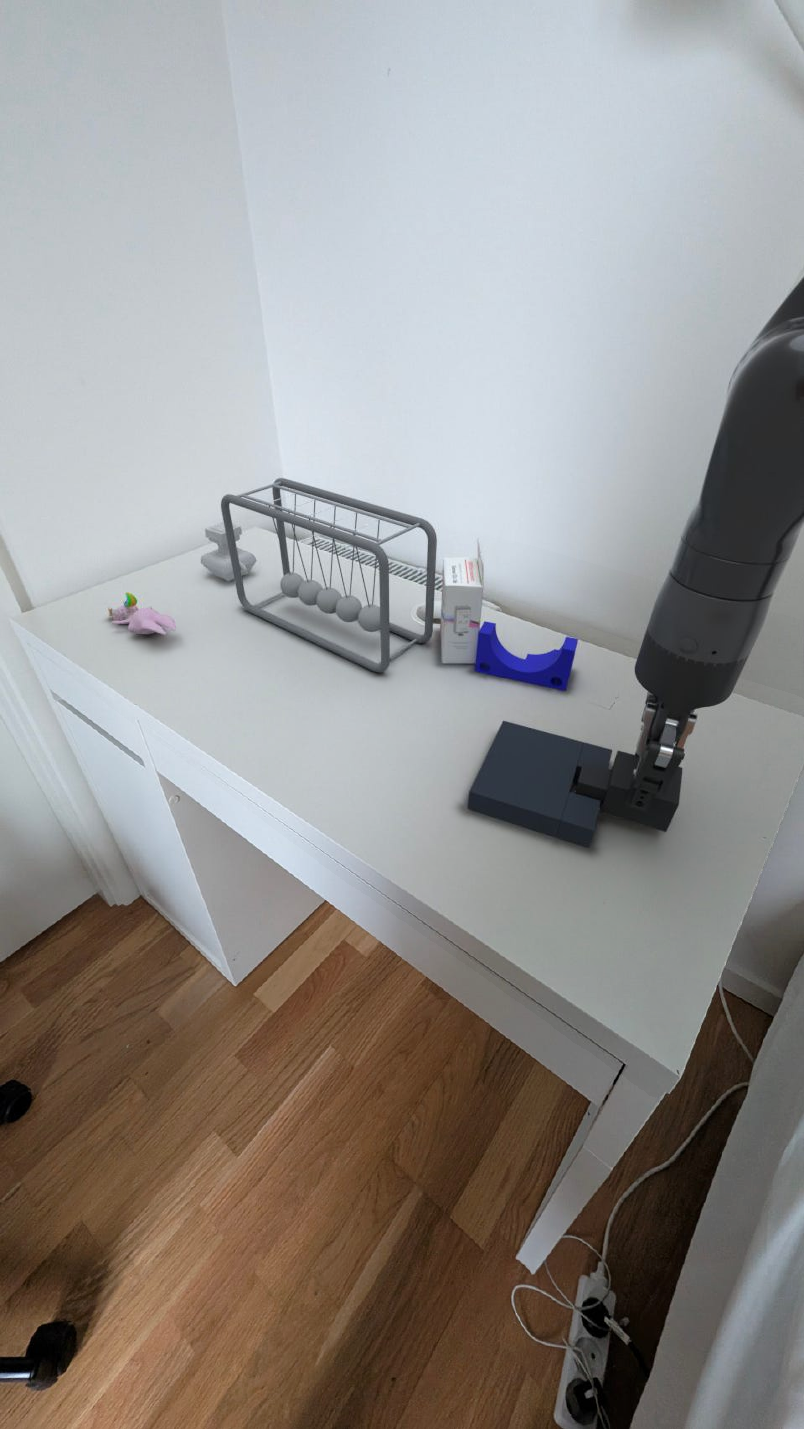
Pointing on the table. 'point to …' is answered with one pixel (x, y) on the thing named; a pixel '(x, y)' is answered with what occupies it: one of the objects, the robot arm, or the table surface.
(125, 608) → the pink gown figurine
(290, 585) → the newton's cradle
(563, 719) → the table surface
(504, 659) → the blue half-round bracket
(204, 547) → the table surface
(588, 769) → the black usb stick
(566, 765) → the grey pad
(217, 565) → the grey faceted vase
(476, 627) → the ink cartridge box
